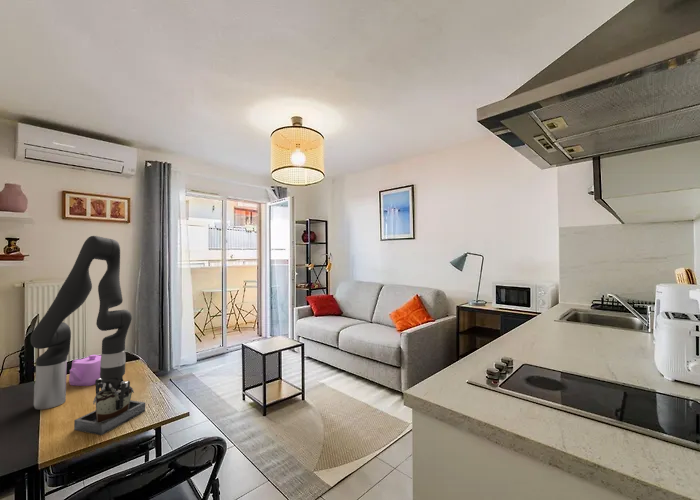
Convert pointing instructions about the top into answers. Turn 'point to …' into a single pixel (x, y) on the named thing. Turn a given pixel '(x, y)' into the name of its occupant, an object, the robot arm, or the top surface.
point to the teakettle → (85, 371)
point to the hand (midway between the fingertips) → (111, 407)
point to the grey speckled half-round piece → (109, 405)
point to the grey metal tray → (94, 427)
